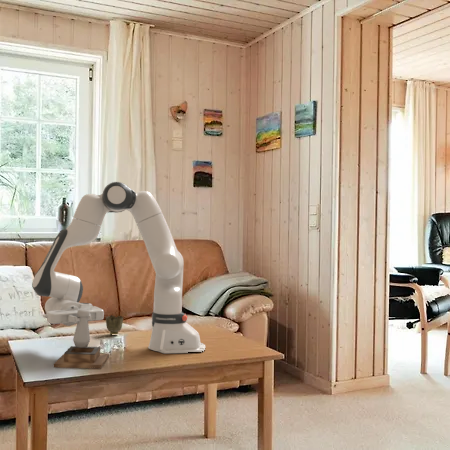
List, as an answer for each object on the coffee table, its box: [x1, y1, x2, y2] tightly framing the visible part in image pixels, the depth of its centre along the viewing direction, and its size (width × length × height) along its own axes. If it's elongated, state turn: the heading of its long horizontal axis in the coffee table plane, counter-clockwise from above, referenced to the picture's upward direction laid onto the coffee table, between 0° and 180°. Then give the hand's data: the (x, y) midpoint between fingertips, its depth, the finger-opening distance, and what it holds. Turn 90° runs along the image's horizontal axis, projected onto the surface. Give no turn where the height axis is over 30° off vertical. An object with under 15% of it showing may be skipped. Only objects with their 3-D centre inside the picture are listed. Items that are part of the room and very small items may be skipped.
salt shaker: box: [72, 309, 91, 348], centre depth 205 cm, size 6×6×13 cm
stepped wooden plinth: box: [53, 345, 110, 370], centre depth 205 cm, size 16×16×4 cm
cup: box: [105, 315, 124, 336], centre depth 252 cm, size 8×7×8 cm
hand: (84, 319), depth 205 cm, fingers closed on salt shaker, 3 cm apart
